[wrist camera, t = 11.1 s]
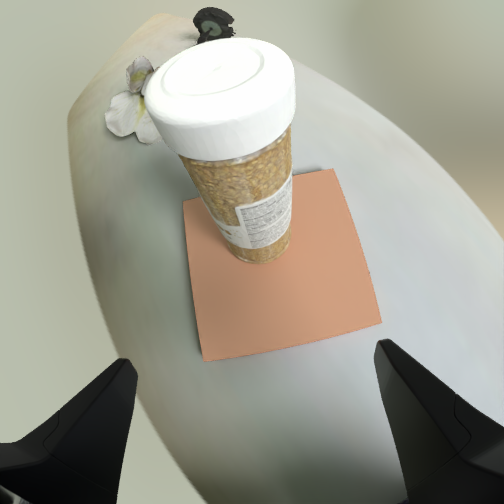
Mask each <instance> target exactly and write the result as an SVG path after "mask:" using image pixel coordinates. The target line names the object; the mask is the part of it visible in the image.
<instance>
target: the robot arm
mask: <svg viewBox="0 0 504 504" xmlns="http://www.w3.org/2000/svg"><path fill="white" fill-rule="evenodd" d="M374 364H375V368H376V373H377V378H378V383H379V388H380V393H381V398H382V401H383V405H384V408H385V411H386V414H387V418H388V421H389V424H390V428H391V431H392V435H393V438H394V442H395V445H396V449H397V453H398V457H399V461H400V465H401V469H402V473H403V477H404V481H405V486H406V490H407V495H408V500H409V504H504V427H503V426H502V425H500V424H498V423H497V422H495V421H494V420H492V419H491V418H489V417H488V416H486V415H484V414H483V413H482V412H480V411H479V410H477V409H476V408H474V407H473V406H472V405H470V404H469V403H468V402H467V401H465V400H464V399H463V398H462V397H460V396H459V395H458V394H455V392H454V391H453V390H452V389H451V388H449V387H448V386H447V385H446V384H445V383H443V382H442V381H441V380H440V379H438V378H437V377H436V376H435V375H434V374H432V373H431V372H430V371H429V370H427V369H426V368H425V367H424V366H423V365H421V364H420V363H419V362H418V361H416V360H415V359H414V358H413V357H411V356H410V355H409V354H408V353H407V352H405V351H404V350H403V349H402V348H400V347H399V346H398V345H397V344H395V343H394V342H393V341H392V340H390V339H383V340H379V341H378V342H377V345H376V349H375V354H374ZM137 380H138V374H137V371H136V370H135V368H134V367H133V365H132V363H131V362H130V360H129V359H126V358H119V359H117V360H116V361H115V362H114V363H112V364H111V365H110V366H109V367H108V368H107V369H105V370H104V371H103V372H102V373H101V374H100V375H99V376H97V377H96V378H95V379H94V380H93V381H92V382H90V383H89V384H88V385H87V386H86V387H85V388H83V389H82V390H81V391H80V392H79V393H78V394H77V395H76V396H74V397H73V398H72V399H71V400H70V401H69V402H68V403H66V404H65V405H64V406H63V407H62V408H61V409H60V410H58V411H57V412H56V413H55V414H54V415H52V416H51V417H50V418H49V419H48V420H46V421H45V422H44V423H43V424H41V425H40V426H39V427H37V428H36V429H34V430H33V431H32V432H30V433H29V434H27V435H26V436H25V437H23V438H22V439H21V440H18V441H16V442H12V443H0V504H116V503H117V494H118V488H119V481H120V474H121V469H122V463H123V458H124V453H125V448H126V442H127V438H128V433H129V428H130V424H131V419H132V415H133V410H134V403H135V395H136V387H137Z"/></svg>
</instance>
